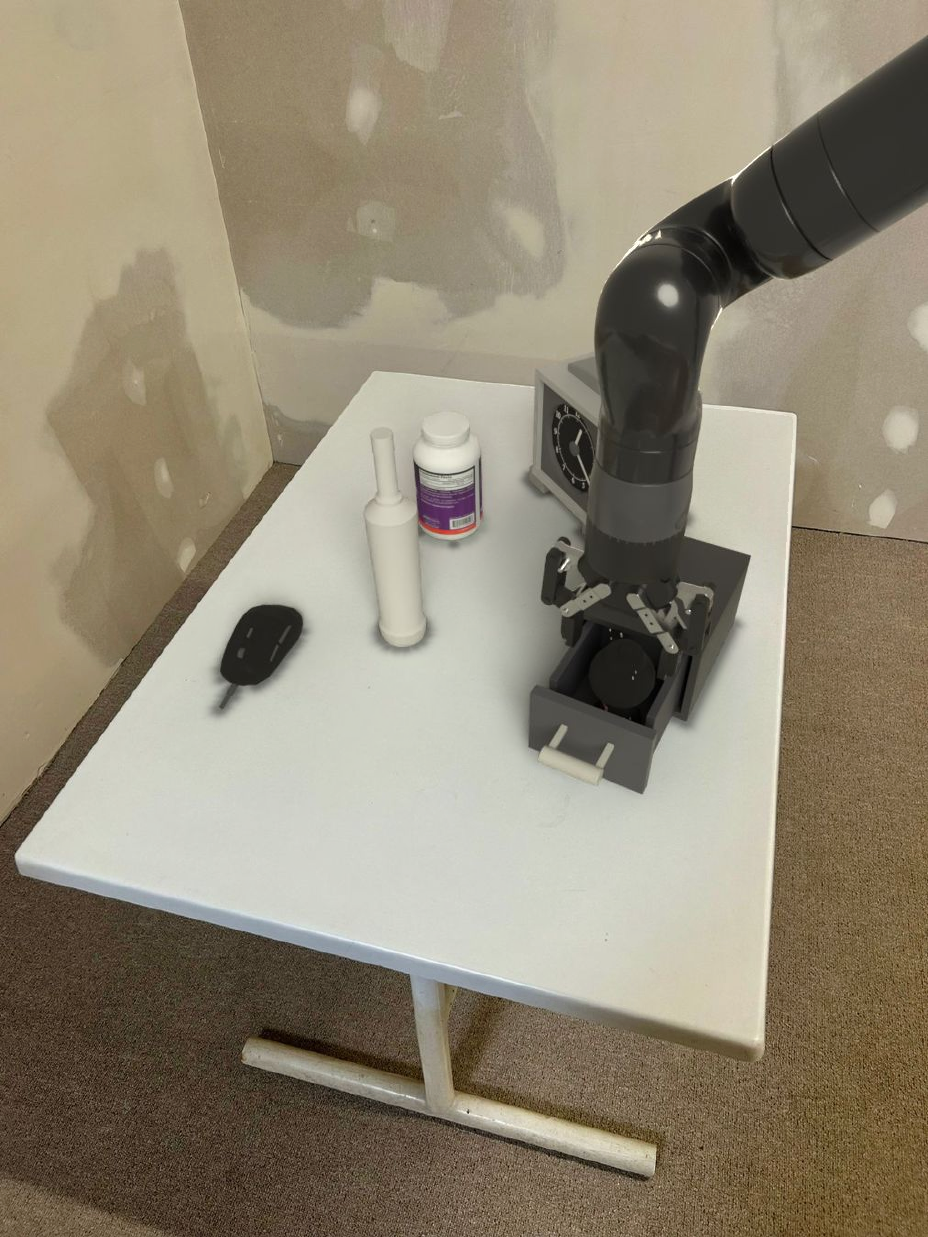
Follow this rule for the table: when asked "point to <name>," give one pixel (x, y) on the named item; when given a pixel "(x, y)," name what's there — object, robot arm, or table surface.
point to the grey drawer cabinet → (694, 569)
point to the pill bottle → (448, 477)
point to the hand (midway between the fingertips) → (617, 656)
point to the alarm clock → (566, 430)
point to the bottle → (394, 549)
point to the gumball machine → (622, 678)
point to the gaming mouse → (259, 644)
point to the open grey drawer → (600, 717)
